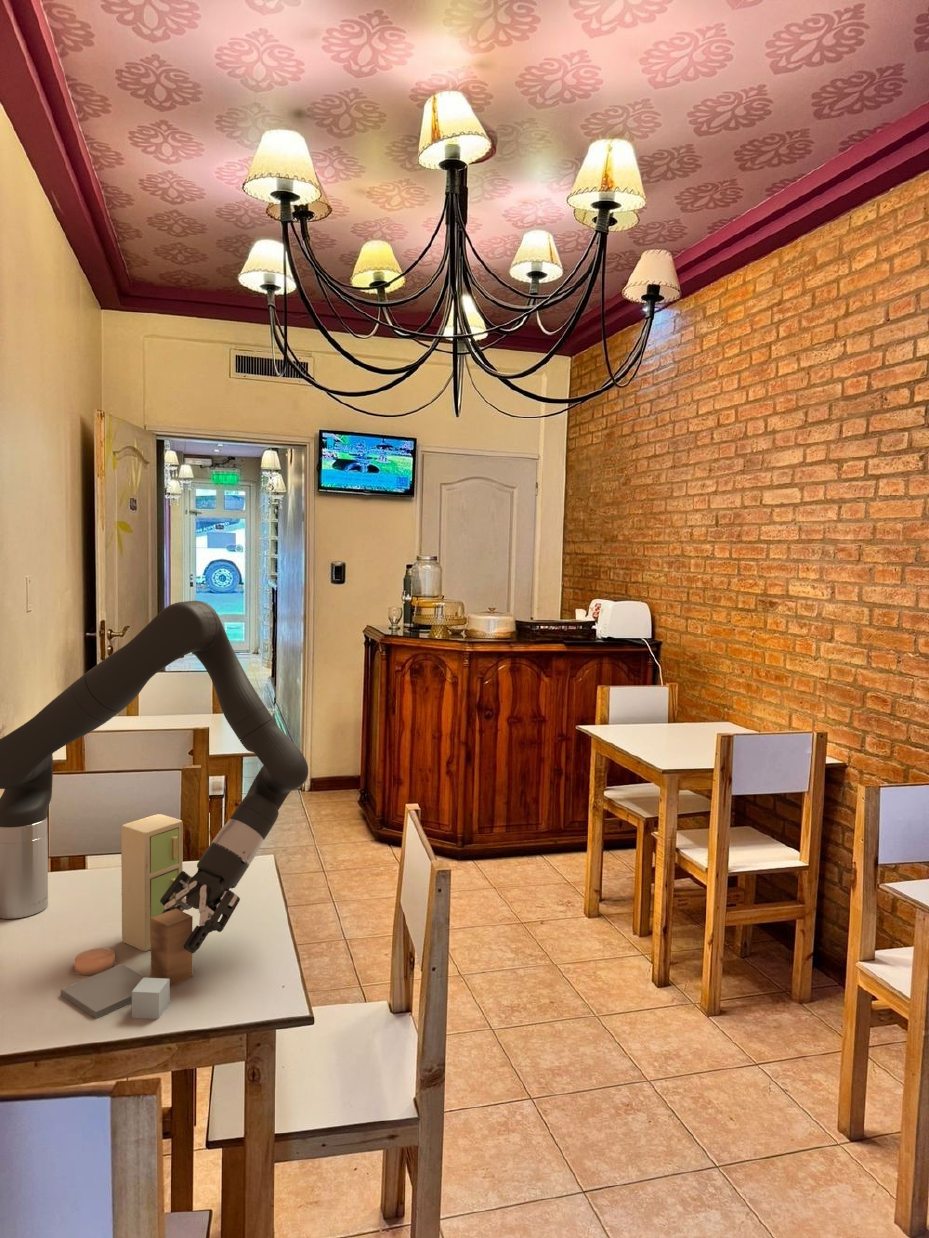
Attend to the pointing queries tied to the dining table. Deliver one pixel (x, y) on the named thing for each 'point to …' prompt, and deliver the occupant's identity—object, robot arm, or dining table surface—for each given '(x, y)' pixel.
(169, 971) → the walnut block
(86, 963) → the orange disc
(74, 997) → the slate coaster
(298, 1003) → the dining table surface
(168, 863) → the toy refrigerator
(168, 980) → the grey cube
